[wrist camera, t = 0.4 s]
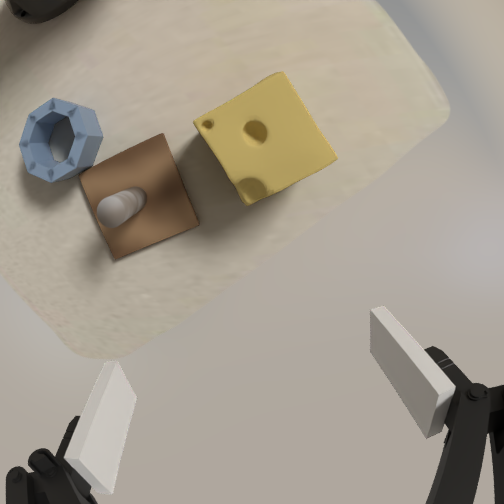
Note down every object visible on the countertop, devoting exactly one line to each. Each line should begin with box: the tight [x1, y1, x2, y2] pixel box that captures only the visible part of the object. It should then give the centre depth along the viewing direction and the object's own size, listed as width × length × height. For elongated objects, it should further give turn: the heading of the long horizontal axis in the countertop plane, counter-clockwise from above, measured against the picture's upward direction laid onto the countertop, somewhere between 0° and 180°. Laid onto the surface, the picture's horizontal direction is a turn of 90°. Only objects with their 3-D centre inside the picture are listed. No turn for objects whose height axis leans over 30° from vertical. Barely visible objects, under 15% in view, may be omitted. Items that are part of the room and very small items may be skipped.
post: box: [79, 133, 199, 259], centre depth 33 cm, size 12×12×10 cm
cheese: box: [193, 72, 338, 206], centre depth 32 cm, size 10×11×10 cm
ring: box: [19, 98, 103, 183], centre depth 32 cm, size 9×9×5 cm
